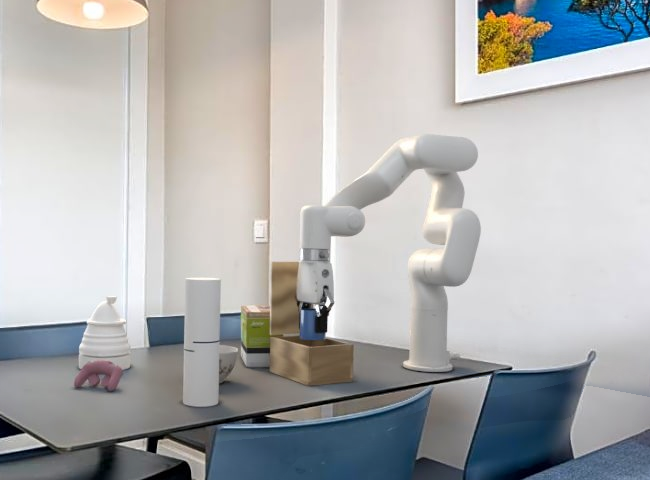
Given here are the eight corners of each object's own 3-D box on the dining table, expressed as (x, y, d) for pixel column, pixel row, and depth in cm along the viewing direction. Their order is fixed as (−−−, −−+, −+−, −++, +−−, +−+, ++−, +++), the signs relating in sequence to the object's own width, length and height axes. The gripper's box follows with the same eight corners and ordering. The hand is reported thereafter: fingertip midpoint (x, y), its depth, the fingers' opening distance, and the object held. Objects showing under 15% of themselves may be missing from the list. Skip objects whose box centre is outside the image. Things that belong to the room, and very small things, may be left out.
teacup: (247, 384, 153) (248, 349, 153) (197, 390, 147) (198, 353, 147) (217, 372, 167) (218, 340, 167) (170, 377, 161) (171, 343, 160)
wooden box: (353, 381, 160) (353, 344, 159) (308, 386, 154) (309, 347, 153) (311, 368, 175) (312, 334, 175) (269, 371, 169) (270, 336, 169)
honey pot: (140, 365, 174) (141, 296, 174) (105, 373, 163) (106, 299, 163) (104, 360, 181) (105, 293, 181) (67, 367, 170) (68, 295, 170)
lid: (314, 261, 175) (303, 261, 179) (272, 261, 169) (262, 261, 173) (313, 332, 175) (302, 330, 179) (271, 335, 169) (261, 332, 173)
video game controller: (120, 395, 147) (127, 364, 150) (110, 390, 143) (118, 358, 146) (81, 391, 150) (89, 361, 153) (70, 386, 146) (79, 355, 149)
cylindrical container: (213, 407, 132) (215, 280, 132) (178, 405, 134) (180, 279, 133) (222, 399, 139) (224, 278, 139) (188, 397, 141) (191, 277, 140)
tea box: (239, 357, 189) (240, 304, 189) (274, 357, 190) (276, 305, 190) (245, 367, 174) (246, 310, 174) (283, 367, 175) (284, 310, 175)
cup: (316, 336, 167) (316, 308, 167) (330, 339, 162) (331, 310, 162) (294, 337, 165) (295, 308, 164) (308, 340, 159) (309, 311, 159)
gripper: (349, 258, 157) (346, 335, 157) (308, 255, 172) (306, 325, 173) (322, 257, 154) (320, 336, 154) (282, 255, 169) (281, 327, 169)
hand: (312, 330), depth 163 cm, fingers closed on cup, 6 cm apart
